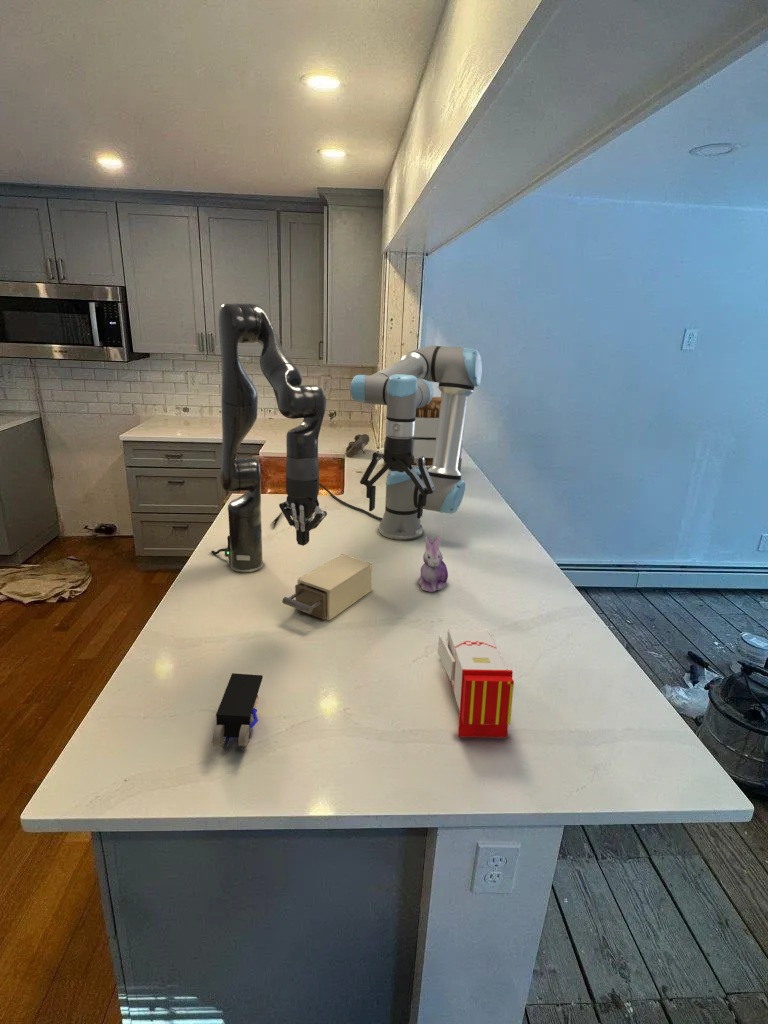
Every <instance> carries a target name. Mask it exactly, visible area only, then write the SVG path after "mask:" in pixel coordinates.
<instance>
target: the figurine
mask: <svg viewBox="0 0 768 1024" xmlns="http://www.w3.org/2000/svg"><path fill="white" fill-rule="evenodd" d="M424 540H425V551H424V553H423V556H422V559H423V562H424V563H423V564H422V565H421V566H420V578H419V581H418V583H419V586H420V587H421V590H422V591H425V592H431V593H432V592H434V593H435V592H436V591H442V590H443V589H444V588H445V587H446V586H447V582H448V578H449V571H448V567H447V565H446V563H445V562H444V560H443V558H444V557H443V554H442V552H441V551H442V550H441V549H440V545H441V540H442V538H441V535H437V536H436V537H435V539H434V540H433V542H432V540H431V538H430V536H428V535H427V536H425V539H424Z"/></svg>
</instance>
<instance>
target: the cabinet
mask: <svg viewBox="0 0 768 1024" xmlns="http://www.w3.org/2000/svg"><path fill="white" fill-rule="evenodd" d="M372 573H373V563H372V562H370V561H367V560H363V559H360V558H356V557H353V556H350V555H346V554H343V553H341V554H340V555H337V556H336V557H334V558H333V559H331V560H329V561H327V562H325V563H324V564H322V565H320V566H318V567H317V568H315V569H313V570H311V571H309V572H308V573H306V574H305V575H303V576H301V577H298V579H297V584H300V585H303V586H304V584H305V585H308V586H311V587H313V588H316V589H319V590H322V591H325V592H327V613H326V618H325V619H324V620H327V621H331V620H332V619H334V618H336V616H338V615H339V614H341V613H342V612H343V611H345V610H347V609H348V608H349V607H351V606H352V605H353V604H355V603H356V602H357V601H358V602H359V600H360V599H362V598H363V597H364V596H366V595H367V594H369V593H370V592H372V581H373V580H372V578H373V577H372V575H373V574H372Z"/></svg>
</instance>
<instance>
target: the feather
mask: <svg viewBox="0 0 768 1024" xmlns="http://www.w3.org/2000/svg"><path fill="white" fill-rule="evenodd" d="M282 514H283V512H280V514H279V515H278V516H277V517H275V519H274V520H273V521H272V522H271V524H270V526H272V525H273V529H274V528H275V526H276V524H277V523H278V521H279V520H280V518H281V516H282Z"/></svg>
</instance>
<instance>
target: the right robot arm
mask: <svg viewBox="0 0 768 1024" xmlns="http://www.w3.org/2000/svg"><path fill="white" fill-rule="evenodd" d="M482 376H483V364H482V357H481V354H480V352H479V350H477V349H475V348H471V347H466V346H463V347H461V346H443V345H442V346H441V345H429V346H423V347H420V348H417V349H414V350H412V351H409V352H407V353H405V354H404V355H402V357H401V358H400V360H399V361H396V362H394V363H393V364H391V365H389V366H387V367H385V368H383V369H381V370H379V371H377V372H375V373H372V374H370V375H367V374H357V375H355V376H354V377H353V378H352V380H351V383H350V396H351V398H352V400H353V401H354V402H357V403H363V404H369V405H379V406H380V405H381V406H386V412H387V416H386V415H385V438H384V442H385V452H384V451H383V452H380V451H379V450H376V451H374V452H373V453H372V455H371V460H370V463H369V464H368V466H367V468H366V469H365V472H364V473H363V475H362V477H361V479H360V481H359V483H360V485H364V486H365V487H366V490H365V491H366V492H365V497H366V499H368V500H369V503H368V511H367V510H366V509H363V508H360V507H358V506H355V505H352V504H350V503H348V502H346V501H343V500H342V499H340V498H338V497H337V496H336V495H335V494H333V493H332V492H331V491H330V490H329V489H328V488H327V487H326V486H324V485H323V484H322V483H319V487H321V488H322V489H323V490H324V491H326V492H327V494H328V495H330V497H332V498H333V499H334V500H335V501H337V502H339V503H341V504H342V505H345V506H347V507H349V508H351V509H354V510H356V511H359V512H362V513H364V514H367V515H368V516H370V517H371V518H373V519H376V520H379V521H381V522H379V526H378V533H379V534H380V535H381V536H382V537H385V538H387V539H389V540H395V541H410V540H415V539H418V538H420V537H421V536H422V535H423V525H422V524H421V518H422V517H423V512H424V511H423V510H427V511H433V512H438V513H440V514H451V515H452V514H454V513H456V512H457V511H458V510H459V508H460V506H461V504H462V502H463V499H464V496H465V491H466V481H464V480H463V479H462V473H460V472H459V471H458V463H459V456H460V449H461V442H462V441H463V438H462V435H463V436H464V432H463V429H465V421H466V414H467V408H468V402H469V401H468V400H469V397H470V396H472V394H473V393H474V392H475V387H479V386H480V385H481V381H482ZM430 382H431V383H438V387H437V388H438V390H439V391H440V393H441V392H442V398H441V406H440V413H439V420H438V427H437V435H436V442H435V449H434V456H433V464H432V465H430V466H429V468H428V467H427V466H426V465H425V457H424V456H422V457H414V455H413V448H414V438H413V437H412V436H414V434H415V416H416V409H418V408H421V407H424V406H426V405H427V404H428V403H429V402H430V401H431V400H432V397H434V389H433V385H432V384H431V383H430ZM386 434H387V435H388V436H386ZM380 460H383V462H384V461H385V463H386V464H385V465H384V464H383V466H382V467H381V469H380V470H379V471H377V473H376V474H374V475H373V476H372V478H371V479H370V477H371V475H372V473H373V471H374V469H375V468H376V466H377V464H378V463H379V461H380ZM413 462H415V463H416V465H417V466H412V463H413ZM390 470H391V471H390ZM387 471H388V473H387V475H386V482H385V504H384V505H385V507H384V508H385V509H384V513H383V515H382V517H380V516H377V515H375V514H373V513H371V512H373V511H374V510H375V509H376V491H377V490H376V489H377V486H376V485H374V484H375V483H376V482H377V481H378V480H379V479H380V478H381V477H382V476H383V475H384V474H385V473H386V472H387Z"/></svg>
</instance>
